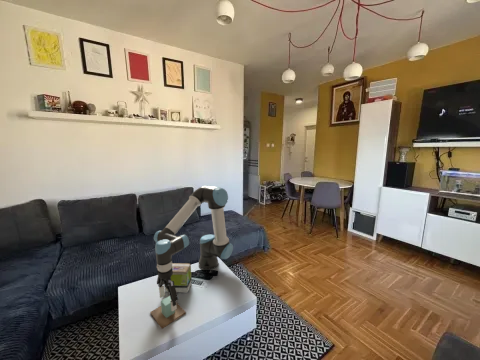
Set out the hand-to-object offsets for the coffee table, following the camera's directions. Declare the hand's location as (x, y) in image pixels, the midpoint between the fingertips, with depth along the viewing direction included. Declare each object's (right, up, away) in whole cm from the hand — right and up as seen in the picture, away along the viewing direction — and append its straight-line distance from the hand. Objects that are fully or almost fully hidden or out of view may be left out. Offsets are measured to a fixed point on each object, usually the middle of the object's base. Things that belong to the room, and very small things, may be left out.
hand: (168, 303), depth 116 cm
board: (0, -6, +1) cm, 6 cm away
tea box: (-1, -3, +22) cm, 22 cm away
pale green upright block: (0, -5, 0) cm, 5 cm away
